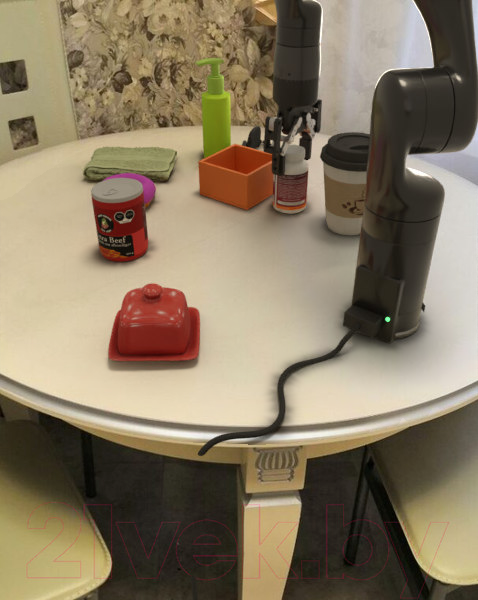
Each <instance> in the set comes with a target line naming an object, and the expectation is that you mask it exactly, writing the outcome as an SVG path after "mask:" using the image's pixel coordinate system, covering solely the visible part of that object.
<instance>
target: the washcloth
mask: <svg viewBox="0 0 478 600" xmlns="http://www.w3.org/2000/svg"><path fill="white" fill-rule="evenodd" d="M177 156H178V151H177V150H174V149H173V148H168V147H167V148H165V147H159V146H139V147H138V146H135V147H128V146H127V147H125V146H103V147H98V148H96V149H94V151H93V153H92V156H91V157H90V161H89V162H88V163H86V165H85V166H84V168H83V170H82V175H83V177H84V178H85V179H87V180H90V181H100V182H102V181H103V180H104V179H106V178H107V177H110V176H113V175H117V174H123V173H134V174H139V175H142V176H144V177H146V178H148V179H150V180H151V181H152V182H156V181H158V182H159V181H168V179H169V178H170V174H171V172H172V171H173V169H174V167H175V162H176V161H175V160H176V158H177Z"/></svg>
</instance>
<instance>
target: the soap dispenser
mask: <svg viewBox="0 0 478 600" xmlns="http://www.w3.org/2000/svg"><path fill="white" fill-rule="evenodd" d="M194 64H195V65H196V66H198V67H203V66H208V65H210V74H209V75H207V76H206V87H207V88H206V89H207V90H206V91H204V92H202V93H201V95H200V96H201V118H202V120H201V121H202V122H201V123H202V145H203V146H202V147H203V149H202V150H203V158H207V157H209V156H211V155H213V154H215V153H217V152H219V151H221V150H223V149H225V148H227V147H229V146H231V145H232V133H231V132H232V129H231V128H232V126H231V125H232V123H231V121H232V120H231V117H232V116H231V111H232V110H231V93H230V92H229V91H226V90H225V76H224V75H223V74H221V72H220V70H221V69H220V64H224V59H222V58H220V57H209V58H208V57H207V58H202V59H200V60H198V61H195V62H194Z"/></svg>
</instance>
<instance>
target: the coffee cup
mask: <svg viewBox="0 0 478 600" xmlns="http://www.w3.org/2000/svg"><path fill="white" fill-rule="evenodd" d="M369 138H370V133H366V132H358V131H357V132H355V131H351V132H350V131H347V132H340V133H336V134H333V135H332V136H330V137H329V138H328V139H327V142H326V144H325V145H324V146H322V148H321V151H320V155H319V158H320V160H321V162H322V165H323V166H322V167H323V188H324V208H325V222H326V225H327V228H328V229H329V230H330V231H331V232H333V233H335V234H337V235H342V236H359V235H360V233H361V225H362V218H363V210H364V203H365V195H366V172H367V161H368V151H369Z"/></svg>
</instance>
